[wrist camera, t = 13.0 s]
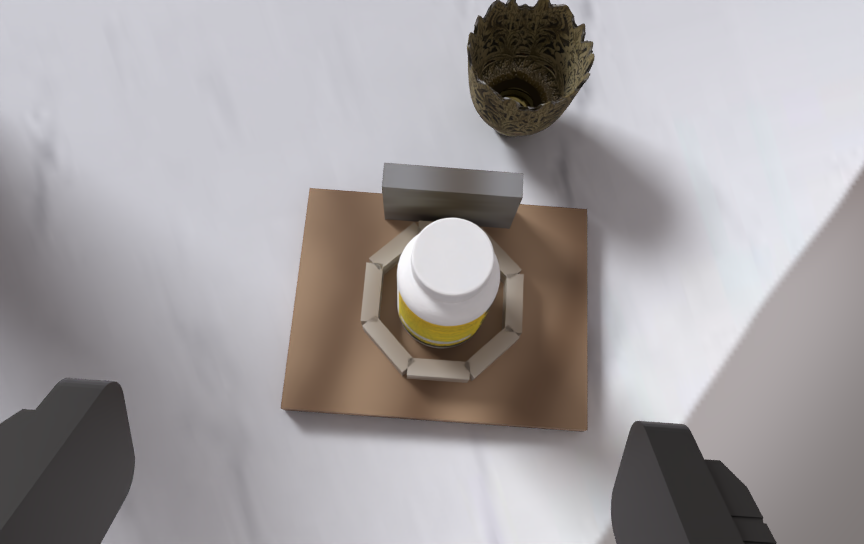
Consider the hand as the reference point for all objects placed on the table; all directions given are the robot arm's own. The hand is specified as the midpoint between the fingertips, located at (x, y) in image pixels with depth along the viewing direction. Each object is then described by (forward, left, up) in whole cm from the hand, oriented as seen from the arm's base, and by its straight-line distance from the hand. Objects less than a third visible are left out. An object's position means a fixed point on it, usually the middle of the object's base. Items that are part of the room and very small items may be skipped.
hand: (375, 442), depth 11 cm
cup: (+6, +24, -30) cm, 39 cm away
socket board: (+2, +10, -30) cm, 31 cm away
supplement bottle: (+2, +10, -29) cm, 30 cm away
